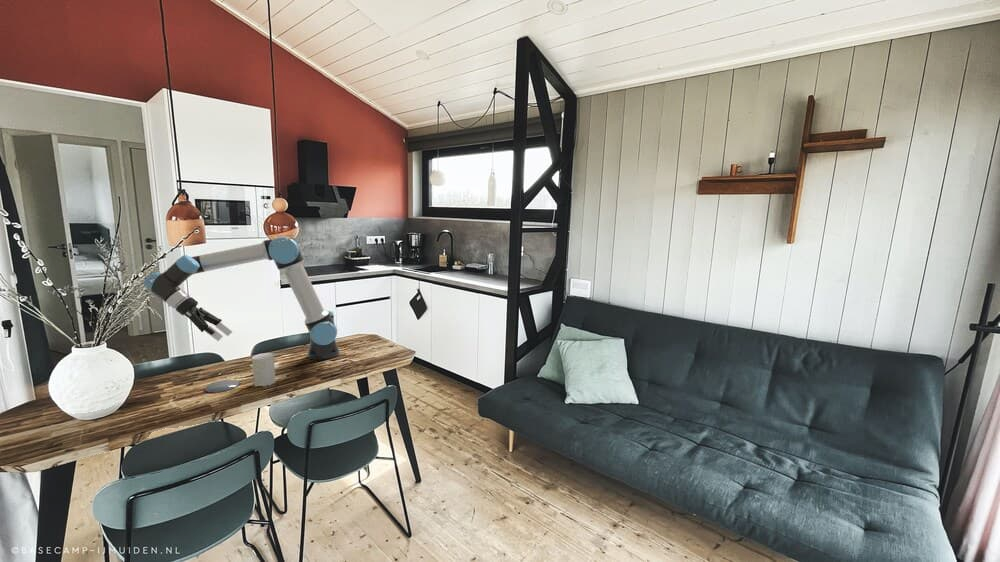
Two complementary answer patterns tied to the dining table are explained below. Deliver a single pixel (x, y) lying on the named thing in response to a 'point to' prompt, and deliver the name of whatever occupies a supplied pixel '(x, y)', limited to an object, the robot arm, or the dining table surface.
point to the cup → (263, 369)
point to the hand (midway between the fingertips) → (225, 336)
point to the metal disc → (222, 386)
